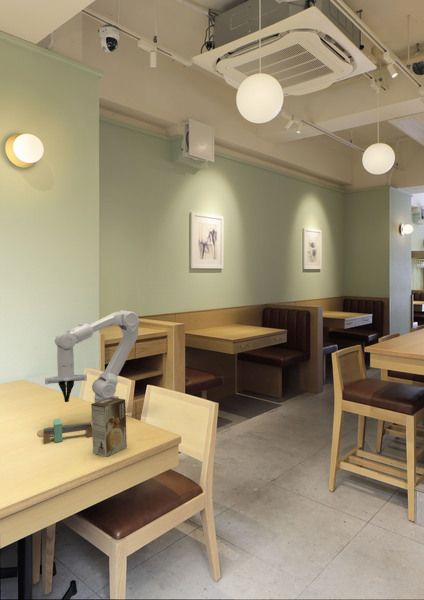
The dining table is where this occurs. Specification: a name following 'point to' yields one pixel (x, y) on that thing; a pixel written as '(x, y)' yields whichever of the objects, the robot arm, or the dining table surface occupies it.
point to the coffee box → (109, 426)
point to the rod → (68, 430)
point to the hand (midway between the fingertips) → (66, 401)
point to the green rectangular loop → (57, 430)
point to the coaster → (40, 433)
